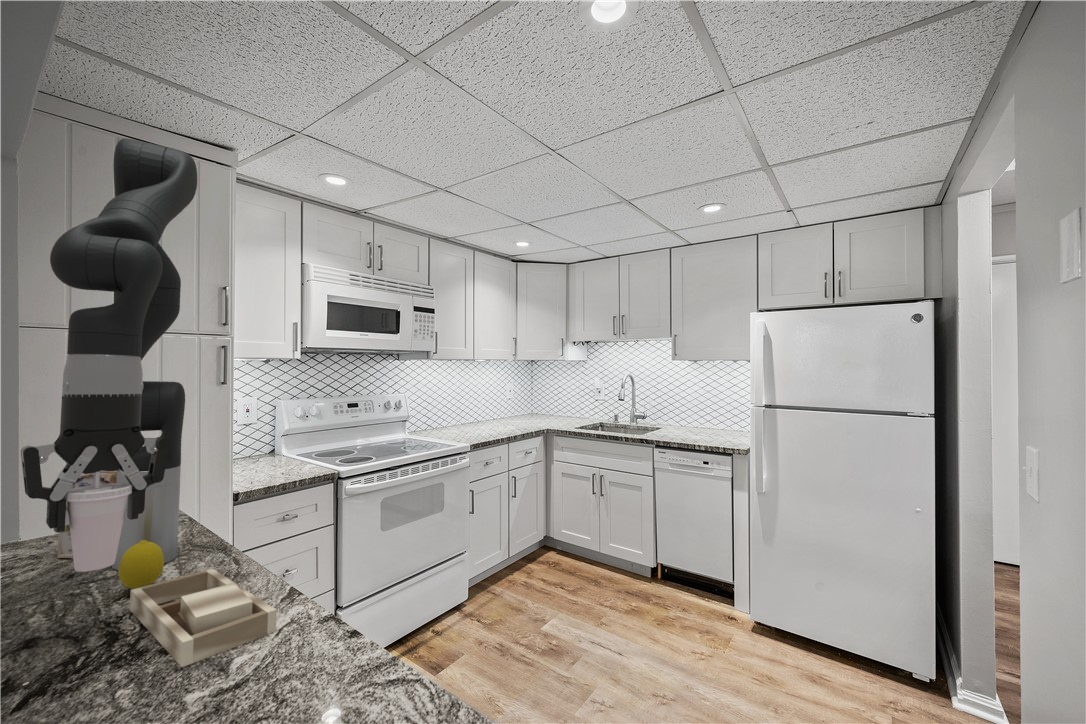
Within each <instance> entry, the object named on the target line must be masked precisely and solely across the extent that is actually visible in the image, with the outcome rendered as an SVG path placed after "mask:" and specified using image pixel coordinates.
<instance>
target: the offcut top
mask: <svg viewBox="0 0 1086 724" xmlns="http://www.w3.org/2000/svg"><path fill="white" fill-rule="evenodd" d="M234 583H235V582H234ZM234 583H232V584H228V585H224V586H220V587H216V588H212V589H208V590H205V591H201V592H197V593H193V594H189V595H185V596H181V598H180V600H181V607H180V613H181V614H182V616H183V617H184V619H185V620H186V622H187V623H188V625H189V626H190V628H191V629H192V631H193V632H194V634H198V633H201V632H204V631H207V630H210V629H212V628H215V627H218V626H221V625H224V624H227V623H230V622H233V621H235V620H238V619H241V618H244V617H247V616H250V615H252V600H251V599H250V598H249V597H248V596H247V595H246V594H244V593H243V592H242V591H241V590H240V589H239V588H238V587H237V586H236V585H235V584H234Z"/></svg>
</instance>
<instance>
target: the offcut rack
mask: <svg viewBox="0 0 1086 724" xmlns="http://www.w3.org/2000/svg"><path fill="white" fill-rule="evenodd" d="M232 583H234V584H235V585H236V586H237V587H238V588H239V589H240V590H241V591H242V592H243V593H244V594H246V595H247V596H248V597H249V598H250V599H251V600H252V614H253V615H250V616H247V617H244V618H241V619H238V620H235V621H233V622H230V623H227V624H224V625H221V626H218V627H215V628H212V629H210V630H207V631H204V632H201V633H198V634H195V635H192V636H190V635H189V634H188V633H187V632H186V631H185V630H184V629H183V628H182V627H181V626H179V625H178V624H177V617H178V612H180V607H181V596H185V595H189V594H193V593H197V592H201V591H205V590H208V589H212V588H216V587H220V586H224V585H228V584H232ZM129 592H130V593H129V595H130V598H129V611H130V612H131V613H132V614H133V615H134V616H135V617H136V618H137V620H139V622H140V623H141V624H142V625H143V626H144V628H146V630H147V631H148V632H149V633H150V634H151V635H152V636H153V637H154V638H155V639H156V640H157V642H159V644H160V645H161V646H162V647H163V648H164V650H166V651H167V653H168V654H169V655H170V656H171V657H172V658H173V660H175V661H176V662H177V664H178V665H179V666H180V667H181V668H183V667H186V666H189V665H192V664H195V663H197V662H199V661H202V660H205V659H207V658H210V657H213V656H214V655H218V654H220V653H223V652H225V651H228V650H230V649H231V650H232V649H233V648H236V647H238V646H241V645H243V644H246V643H249V642H251V641H254V640H257V639H259V638H261V637H264V636H267V635H269V634H272V633H274V632H276V630H277V629H276V627H277V622H276V621H277V609H276V608H274V607H273V606H272V605H269V604H268V603H266V602H265V601H264V600H262V599H260V598H259V597H258V596H256V595H255V594H252V593H251V592H249V591H248V590H247V589H245V588H243V587H242V586H241V585H239V584H237V583H236V582H234V581H233V580H232V579H229V578H228V577H226V576H225V575H223V574H222V573H221V572H219V571H218V570H216V569H214V568H210V569H206V570H202V571H198V572H193V573H191V574H187V575H183V576H180V577H175V578H172V579H168V580H164V581H159V582H156V583H152V584H151V585H148V586H144V587H140V588H136V589H130V591H129ZM177 599H178V600H177ZM174 600H175V601H174ZM170 601H171V602H170ZM166 602H169V603H166ZM161 604H162V605H161Z"/></svg>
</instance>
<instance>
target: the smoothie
mask: <svg viewBox="0 0 1086 724" xmlns="http://www.w3.org/2000/svg"><path fill="white" fill-rule="evenodd" d="M99 483H100V471H99V472H95V473H94V484H93V485H89V486H82V487H77V488H73V489H69V490H68V491H67V493H66V494H65V496H64V500H66V501H67V506H68V515H69V524H70V533H71V542H72V551H73V559H72V560H73V567H74V571H75V572H79V573H81V572H84V573H85V572H93V571H98V570H102V569H107V568H109V567H112V565H113V564H114V563H115V560H116V555H117V550H118V545H119V540H120V535H121V530H122V525H123V520H124V515H125V511H126V506H127V501H128V496H129V494H131V493H132V485H131V484H127V483H109V484H99Z"/></svg>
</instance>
